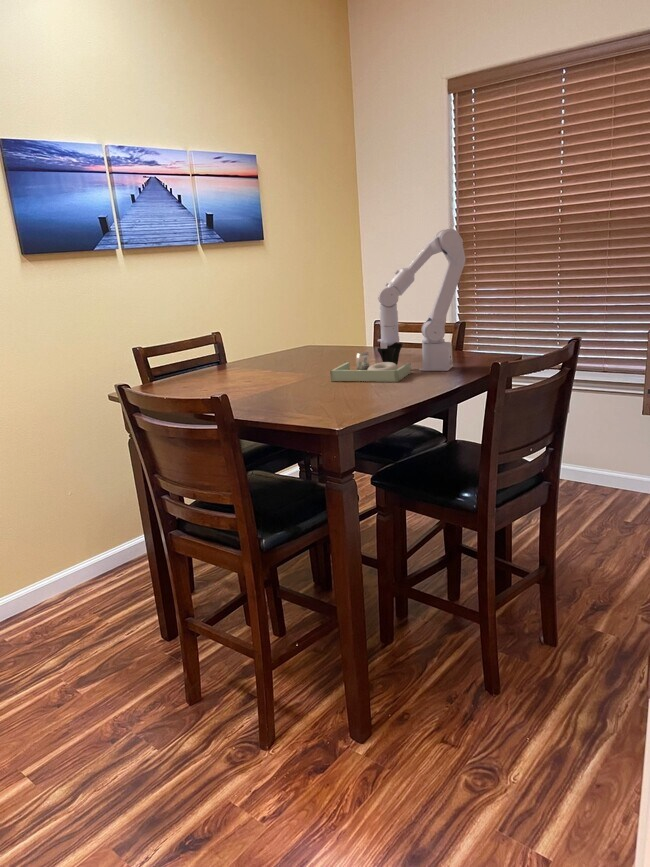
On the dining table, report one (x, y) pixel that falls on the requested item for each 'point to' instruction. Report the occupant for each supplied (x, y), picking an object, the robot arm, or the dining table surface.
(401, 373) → the tray
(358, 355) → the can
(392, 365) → the donut
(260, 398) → the dining table surface
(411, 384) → the dining table surface
